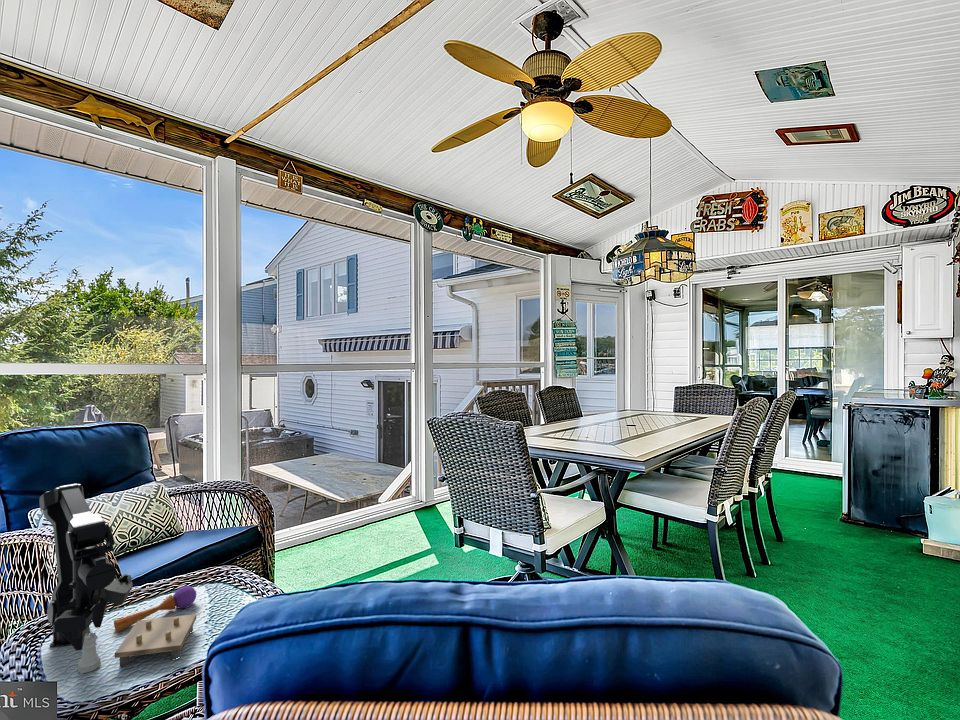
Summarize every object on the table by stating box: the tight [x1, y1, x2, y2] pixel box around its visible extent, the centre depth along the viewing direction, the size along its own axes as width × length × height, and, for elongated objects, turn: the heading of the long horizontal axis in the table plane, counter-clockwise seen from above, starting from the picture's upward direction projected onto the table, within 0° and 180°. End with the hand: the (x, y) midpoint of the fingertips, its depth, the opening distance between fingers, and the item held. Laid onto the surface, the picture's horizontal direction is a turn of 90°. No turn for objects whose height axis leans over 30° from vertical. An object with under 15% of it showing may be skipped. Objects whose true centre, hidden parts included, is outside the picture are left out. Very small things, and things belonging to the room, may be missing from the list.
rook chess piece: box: [77, 631, 102, 674], centre depth 120 cm, size 4×4×8 cm
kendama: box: [113, 585, 197, 633], centre depth 142 cm, size 6×6×20 cm
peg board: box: [114, 613, 197, 668], centre depth 128 cm, size 14×14×6 cm
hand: (89, 638), depth 120 cm, fingers open, 9 cm apart
